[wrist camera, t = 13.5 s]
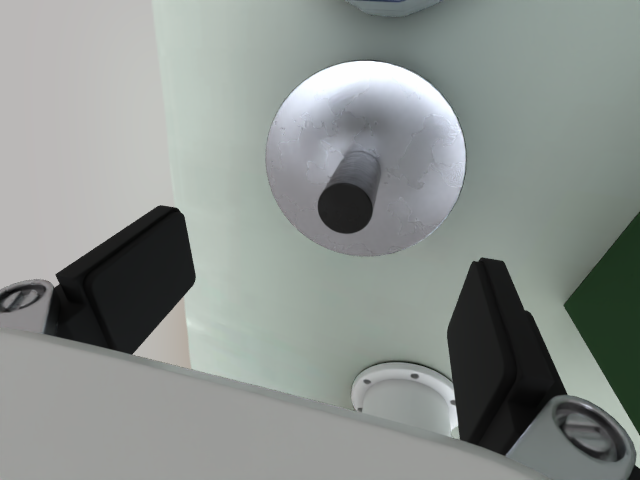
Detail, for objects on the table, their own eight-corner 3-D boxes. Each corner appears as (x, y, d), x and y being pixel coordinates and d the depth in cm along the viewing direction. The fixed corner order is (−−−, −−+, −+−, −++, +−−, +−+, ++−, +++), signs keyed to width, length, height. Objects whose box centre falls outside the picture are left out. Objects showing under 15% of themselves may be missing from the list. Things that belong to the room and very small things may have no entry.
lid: (436, 261, 23) (444, 327, 17) (273, 233, 25) (235, 285, 19) (493, 67, 16) (532, 78, 11) (268, 51, 18) (212, 54, 13)
